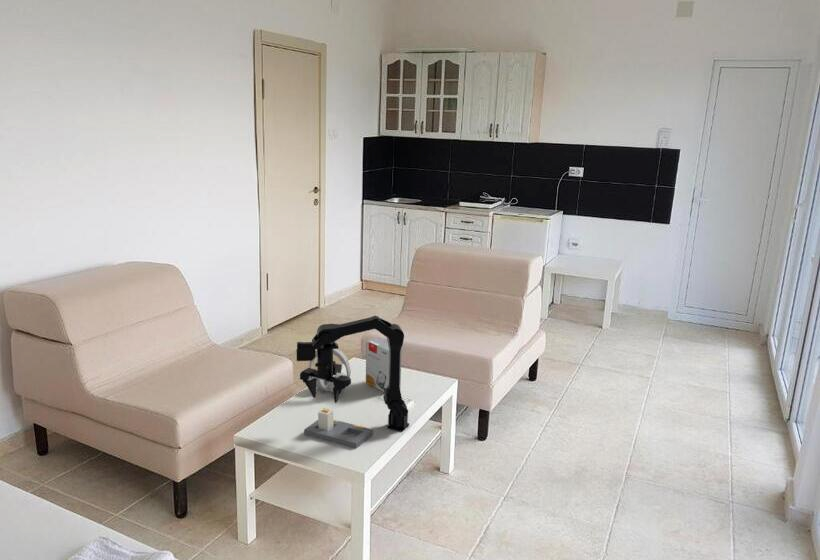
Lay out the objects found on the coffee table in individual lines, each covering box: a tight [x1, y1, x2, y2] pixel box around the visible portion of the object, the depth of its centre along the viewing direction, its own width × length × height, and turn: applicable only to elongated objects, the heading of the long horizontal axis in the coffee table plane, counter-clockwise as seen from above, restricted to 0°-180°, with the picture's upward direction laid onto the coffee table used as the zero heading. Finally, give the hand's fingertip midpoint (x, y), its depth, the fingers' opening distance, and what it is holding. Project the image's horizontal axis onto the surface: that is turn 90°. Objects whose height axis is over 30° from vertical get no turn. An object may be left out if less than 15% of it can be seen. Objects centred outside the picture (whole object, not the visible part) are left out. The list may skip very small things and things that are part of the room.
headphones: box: [308, 348, 352, 396], centre depth 270 cm, size 19×8×20 cm, turn 66°
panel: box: [303, 419, 374, 449], centre depth 235 cm, size 22×12×2 cm, turn 64°
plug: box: [317, 408, 334, 431], centre depth 237 cm, size 4×4×9 cm
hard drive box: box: [365, 337, 403, 393], centre depth 277 cm, size 16×8×20 cm, turn 42°
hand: (325, 400), depth 235 cm, fingers open, 9 cm apart
